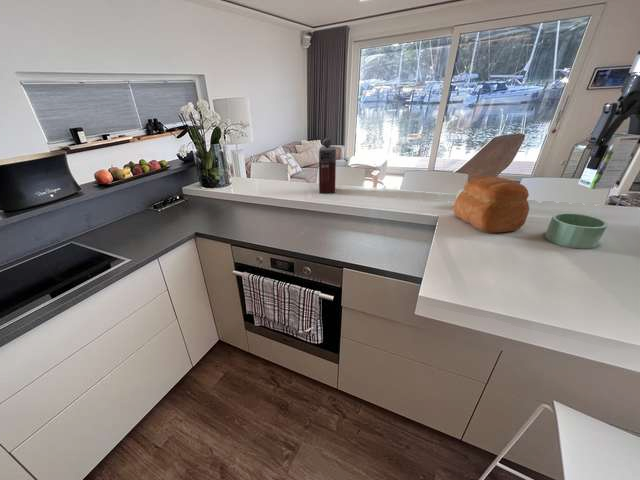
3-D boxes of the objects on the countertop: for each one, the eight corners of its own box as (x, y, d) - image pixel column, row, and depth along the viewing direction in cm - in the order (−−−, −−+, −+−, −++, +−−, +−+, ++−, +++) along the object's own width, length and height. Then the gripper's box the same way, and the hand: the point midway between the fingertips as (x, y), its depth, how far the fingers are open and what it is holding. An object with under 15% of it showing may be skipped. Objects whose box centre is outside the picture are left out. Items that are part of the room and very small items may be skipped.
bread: (481, 235, 102) (495, 189, 94) (447, 215, 121) (456, 174, 112) (529, 231, 103) (547, 184, 94) (487, 211, 121) (500, 170, 113)
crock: (573, 230, 100) (582, 212, 97) (608, 247, 89) (620, 226, 86) (535, 233, 101) (542, 214, 98) (565, 249, 90) (575, 229, 86)
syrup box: (576, 184, 89) (599, 133, 82) (598, 183, 88) (623, 132, 81) (591, 189, 84) (616, 136, 77) (614, 188, 83) (642, 134, 76)
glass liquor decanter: (319, 194, 159) (318, 140, 145) (319, 189, 169) (318, 138, 155) (335, 194, 158) (336, 139, 144) (334, 188, 167) (335, 136, 153)
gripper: (673, 71, 75) (625, 163, 86) (595, 77, 76) (559, 167, 87) (709, 68, 68) (653, 168, 80) (624, 75, 69) (580, 173, 81)
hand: (604, 167), depth 83 cm, fingers closed on syrup box, 6 cm apart
